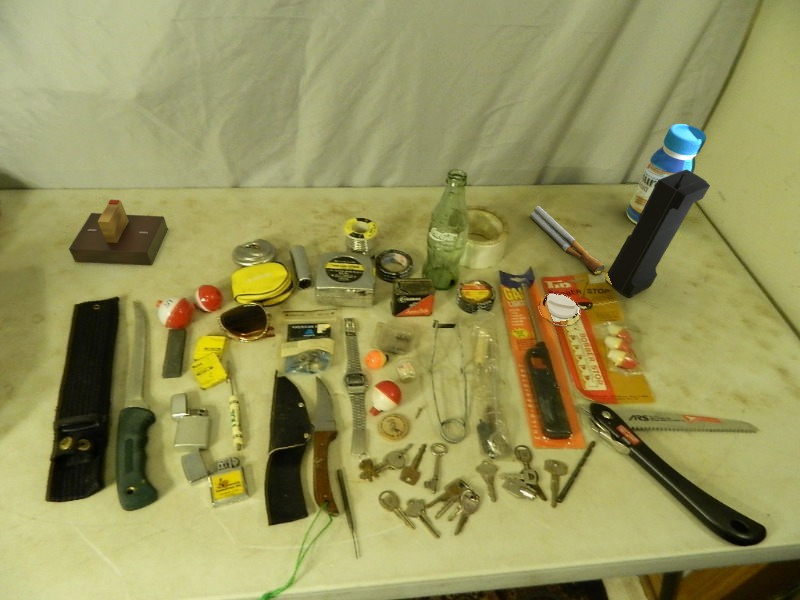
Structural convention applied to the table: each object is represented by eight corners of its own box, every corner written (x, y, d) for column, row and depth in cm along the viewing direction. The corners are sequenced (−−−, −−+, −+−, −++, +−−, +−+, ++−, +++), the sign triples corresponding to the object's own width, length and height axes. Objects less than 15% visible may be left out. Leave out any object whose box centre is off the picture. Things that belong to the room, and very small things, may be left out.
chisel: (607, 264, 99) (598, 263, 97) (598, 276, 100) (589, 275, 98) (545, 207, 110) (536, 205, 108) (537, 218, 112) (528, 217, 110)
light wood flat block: (117, 242, 92) (108, 220, 88) (106, 242, 91) (96, 220, 88) (129, 221, 96) (120, 199, 92) (118, 220, 96) (110, 198, 92)
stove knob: (578, 331, 89) (582, 323, 88) (535, 319, 90) (538, 311, 89) (581, 301, 94) (585, 293, 93) (540, 290, 95) (543, 283, 94)
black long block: (629, 265, 102) (690, 149, 84) (654, 284, 99) (723, 168, 81) (601, 278, 99) (659, 161, 81) (626, 299, 95) (692, 182, 77)
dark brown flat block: (74, 261, 92) (67, 248, 90) (96, 225, 99) (90, 212, 97) (151, 265, 93) (146, 251, 90) (168, 228, 100) (163, 215, 97)
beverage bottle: (670, 231, 110) (719, 145, 96) (631, 229, 110) (674, 142, 95) (657, 206, 116) (701, 122, 102) (619, 204, 116) (658, 119, 101)
